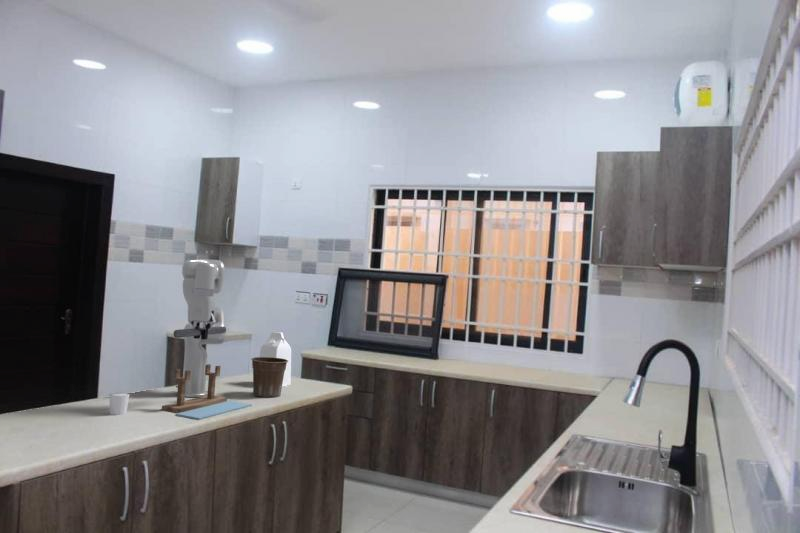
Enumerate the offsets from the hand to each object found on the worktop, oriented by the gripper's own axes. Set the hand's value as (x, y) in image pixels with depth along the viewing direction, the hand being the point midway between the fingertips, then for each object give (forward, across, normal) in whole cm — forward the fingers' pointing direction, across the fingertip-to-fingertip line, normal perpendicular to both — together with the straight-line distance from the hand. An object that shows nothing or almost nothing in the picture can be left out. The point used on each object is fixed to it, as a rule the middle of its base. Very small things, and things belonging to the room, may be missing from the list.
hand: (200, 338), depth 254 cm
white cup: (+27, -12, -28) cm, 41 cm away
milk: (+27, -3, +60) cm, 66 cm away
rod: (-1, 0, 0) cm, 1 cm away
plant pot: (+27, +9, +37) cm, 47 cm away
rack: (+27, 0, 0) cm, 27 cm away
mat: (+27, +12, -2) cm, 29 cm away
